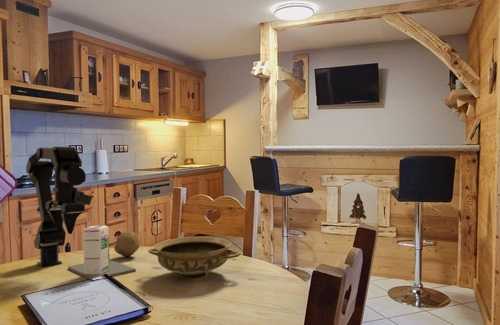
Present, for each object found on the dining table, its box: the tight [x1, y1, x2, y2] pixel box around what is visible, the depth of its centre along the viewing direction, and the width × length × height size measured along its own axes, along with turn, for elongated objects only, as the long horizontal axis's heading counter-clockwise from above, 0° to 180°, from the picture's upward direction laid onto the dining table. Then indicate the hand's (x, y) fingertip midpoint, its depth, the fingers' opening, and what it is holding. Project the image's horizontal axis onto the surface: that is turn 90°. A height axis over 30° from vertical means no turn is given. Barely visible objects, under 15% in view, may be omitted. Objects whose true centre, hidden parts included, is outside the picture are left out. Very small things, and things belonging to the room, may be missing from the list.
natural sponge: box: [114, 230, 141, 257], centre depth 143 cm, size 9×9×10 cm
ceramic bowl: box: [147, 236, 241, 280], centre depth 118 cm, size 30×24×10 cm
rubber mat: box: [67, 258, 137, 280], centre depth 126 cm, size 20×14×1 cm
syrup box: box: [82, 224, 110, 275], centre depth 120 cm, size 6×6×14 cm
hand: (64, 232), depth 124 cm, fingers open, 9 cm apart
